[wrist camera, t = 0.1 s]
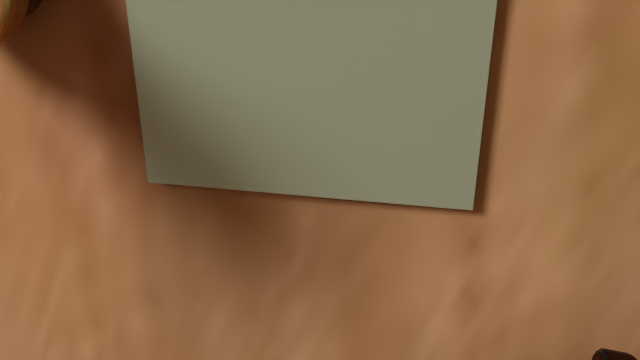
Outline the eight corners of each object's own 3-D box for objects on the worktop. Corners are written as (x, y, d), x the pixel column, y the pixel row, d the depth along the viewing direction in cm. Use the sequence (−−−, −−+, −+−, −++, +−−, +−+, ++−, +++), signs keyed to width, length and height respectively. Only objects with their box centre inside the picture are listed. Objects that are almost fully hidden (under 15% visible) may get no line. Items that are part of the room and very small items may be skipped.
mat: (472, 203, 23) (472, 210, 23) (154, 176, 26) (147, 182, 25) (517, -192, 18) (519, -196, 18) (112, -182, 20) (102, -184, 20)
